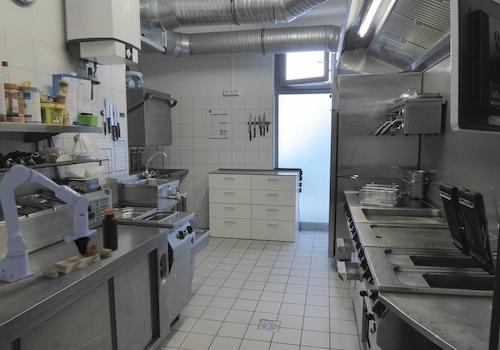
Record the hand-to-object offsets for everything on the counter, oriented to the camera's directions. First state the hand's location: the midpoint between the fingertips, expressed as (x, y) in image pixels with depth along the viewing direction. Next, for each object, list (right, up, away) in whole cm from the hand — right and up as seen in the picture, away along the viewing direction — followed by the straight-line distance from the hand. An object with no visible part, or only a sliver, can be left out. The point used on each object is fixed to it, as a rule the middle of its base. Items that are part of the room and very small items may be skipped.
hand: (82, 254), depth 154 cm
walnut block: (+2, -1, +3) cm, 4 cm away
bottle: (+4, -2, +21) cm, 21 cm away
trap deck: (0, -5, 0) cm, 4 cm away
